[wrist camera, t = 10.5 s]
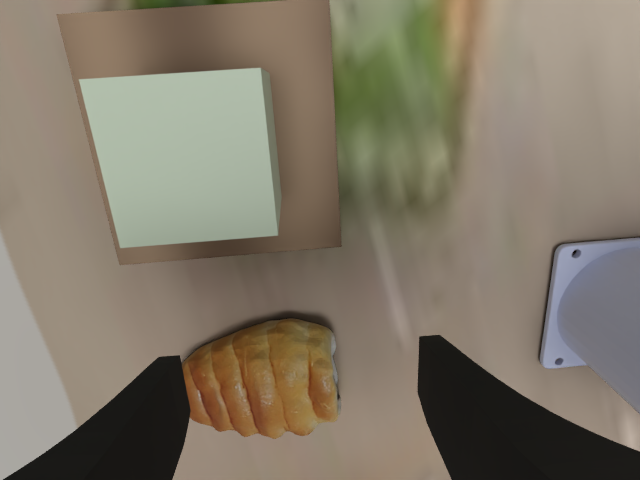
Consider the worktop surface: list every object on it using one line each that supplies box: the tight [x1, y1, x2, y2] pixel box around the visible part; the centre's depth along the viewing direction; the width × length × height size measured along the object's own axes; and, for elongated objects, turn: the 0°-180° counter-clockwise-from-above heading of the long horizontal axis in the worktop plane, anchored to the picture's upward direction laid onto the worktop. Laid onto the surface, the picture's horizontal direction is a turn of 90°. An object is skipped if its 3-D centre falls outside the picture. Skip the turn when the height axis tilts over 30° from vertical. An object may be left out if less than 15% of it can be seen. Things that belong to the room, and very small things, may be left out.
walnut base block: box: [57, 0, 341, 265], centre depth 19 cm, size 10×10×3 cm
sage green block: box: [79, 68, 282, 248], centre depth 15 cm, size 5×5×5 cm
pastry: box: [182, 318, 341, 439], centre depth 23 cm, size 9×7×4 cm
